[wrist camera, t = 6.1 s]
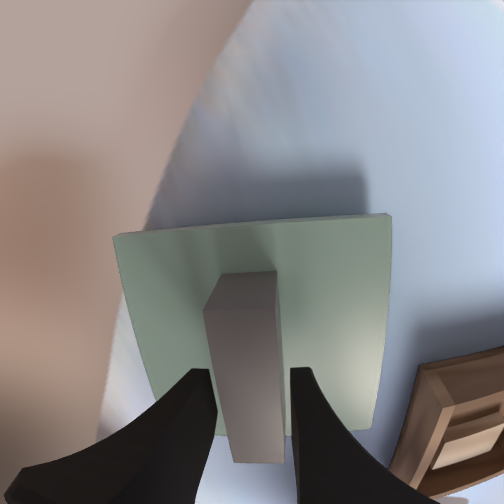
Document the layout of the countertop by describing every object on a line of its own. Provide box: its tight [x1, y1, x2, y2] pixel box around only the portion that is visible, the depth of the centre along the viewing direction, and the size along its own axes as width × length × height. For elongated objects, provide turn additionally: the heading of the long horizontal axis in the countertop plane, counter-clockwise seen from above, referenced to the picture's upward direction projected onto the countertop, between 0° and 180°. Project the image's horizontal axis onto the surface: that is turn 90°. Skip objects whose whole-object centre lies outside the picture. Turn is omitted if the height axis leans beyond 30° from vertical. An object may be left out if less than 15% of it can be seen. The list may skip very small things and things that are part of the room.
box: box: [388, 346, 504, 500], centre depth 13 cm, size 10×10×4 cm
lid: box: [113, 213, 392, 463], centre depth 12 cm, size 10×10×5 cm
